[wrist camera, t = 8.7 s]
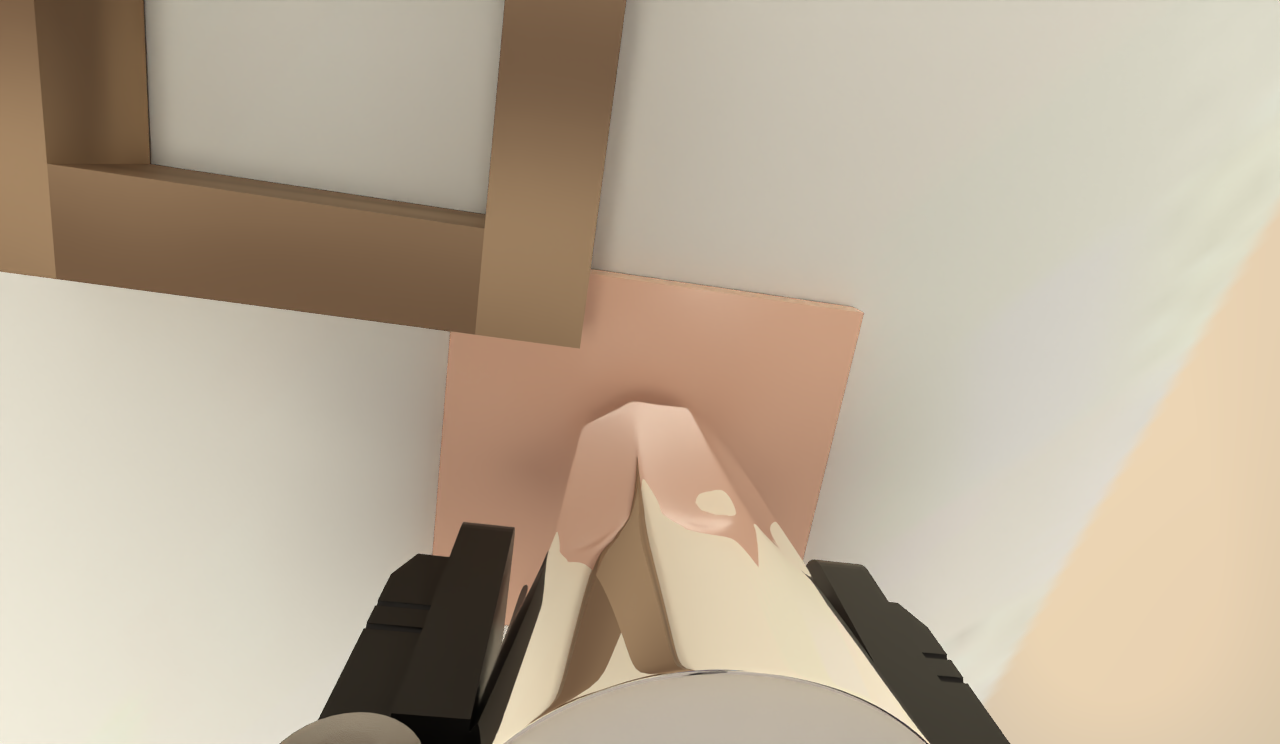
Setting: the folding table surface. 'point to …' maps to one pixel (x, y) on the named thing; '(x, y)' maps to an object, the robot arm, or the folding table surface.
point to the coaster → (644, 399)
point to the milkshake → (675, 610)
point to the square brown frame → (298, 216)
